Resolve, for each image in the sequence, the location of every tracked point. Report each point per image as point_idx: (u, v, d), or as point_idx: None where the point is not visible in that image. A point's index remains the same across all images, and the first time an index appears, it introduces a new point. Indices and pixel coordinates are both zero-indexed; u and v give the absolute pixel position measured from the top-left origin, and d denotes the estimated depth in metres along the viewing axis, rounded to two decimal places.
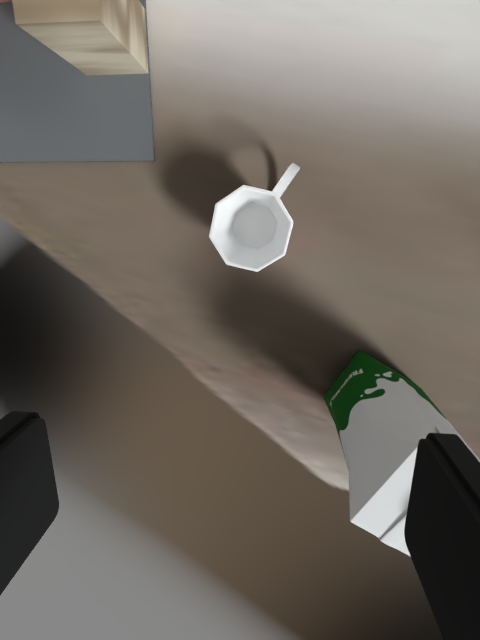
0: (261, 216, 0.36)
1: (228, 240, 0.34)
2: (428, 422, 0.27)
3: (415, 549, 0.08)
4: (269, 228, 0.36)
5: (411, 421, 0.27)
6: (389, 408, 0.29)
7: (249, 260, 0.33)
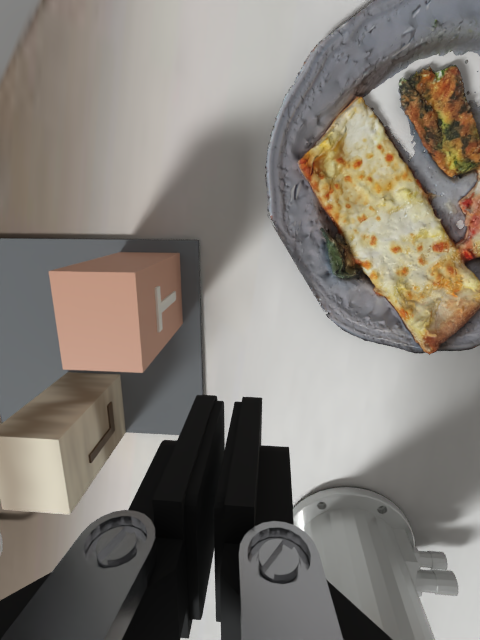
0: None
1: None
2: None
3: None
4: None
5: None
6: None
7: None
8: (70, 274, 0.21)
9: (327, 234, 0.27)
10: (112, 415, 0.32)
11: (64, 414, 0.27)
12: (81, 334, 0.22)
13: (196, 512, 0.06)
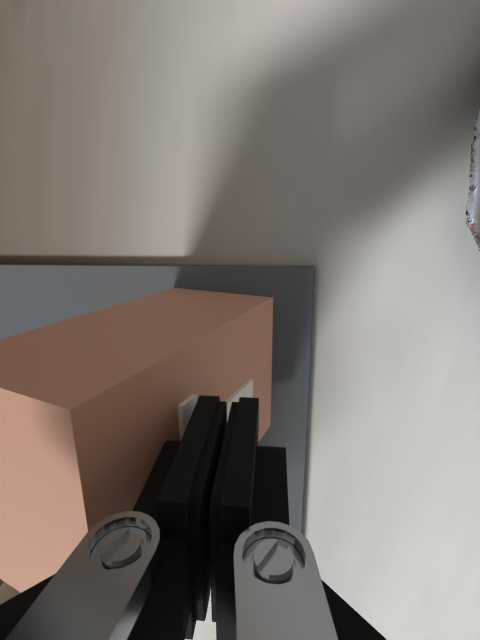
0: None
1: None
2: None
3: None
4: None
5: None
6: None
7: None
8: None
9: None
10: None
11: None
12: None
13: (200, 513, 0.06)
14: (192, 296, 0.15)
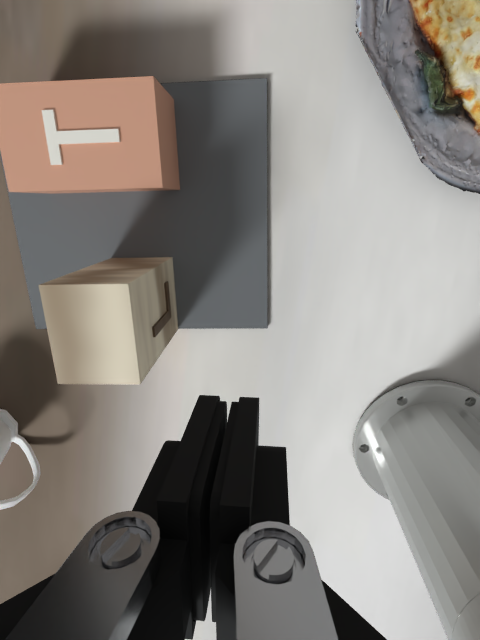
0: None
1: None
2: None
3: None
4: None
5: None
6: None
7: None
8: None
9: (425, 54, 0.23)
10: (169, 297, 0.28)
11: (124, 273, 0.23)
12: None
13: (200, 513, 0.06)
14: None
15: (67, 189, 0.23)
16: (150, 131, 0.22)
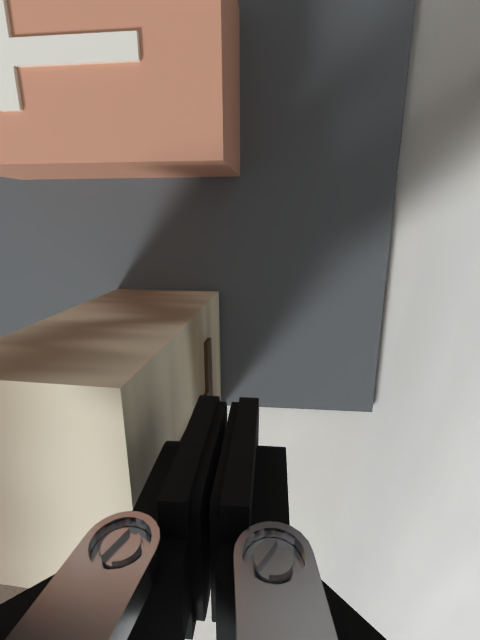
0: None
1: None
2: None
3: None
4: None
5: None
6: None
7: None
8: None
9: None
10: (210, 366, 0.15)
11: (124, 338, 0.11)
12: None
13: (200, 513, 0.06)
14: None
15: (32, 162, 0.12)
16: (205, 37, 0.10)
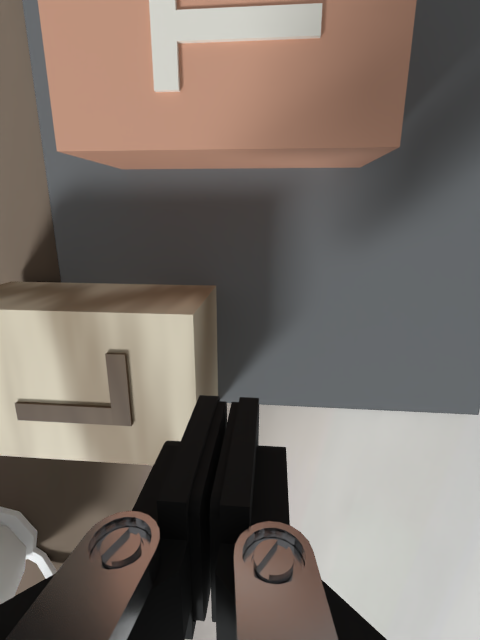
0: None
1: None
2: None
3: None
4: None
5: None
6: None
7: None
8: None
9: None
10: (122, 386, 0.13)
11: (20, 300, 0.14)
12: None
13: (200, 513, 0.06)
14: None
15: (182, 148, 0.11)
16: (397, 11, 0.09)
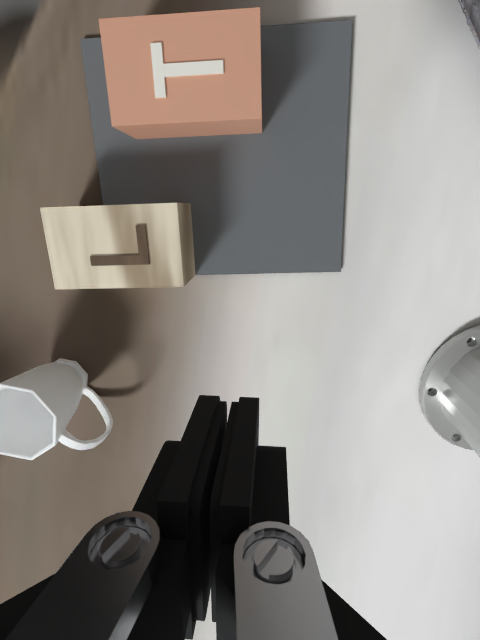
0: None
1: None
2: None
3: None
4: None
5: None
6: None
7: None
8: None
9: None
10: (144, 242, 0.27)
11: None
12: None
13: (200, 513, 0.06)
14: None
15: (168, 122, 0.24)
16: (253, 62, 0.23)
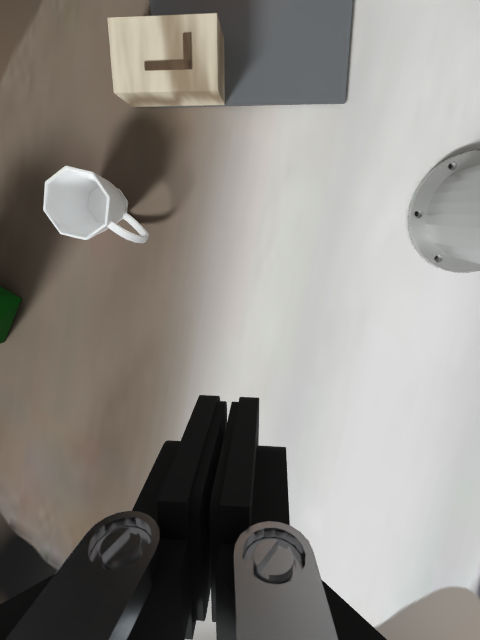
0: None
1: (79, 182, 0.38)
2: None
3: None
4: None
5: None
6: None
7: (59, 202, 0.38)
8: None
9: None
10: (188, 48, 0.33)
11: None
12: None
13: (200, 513, 0.06)
14: None
15: None
16: None
